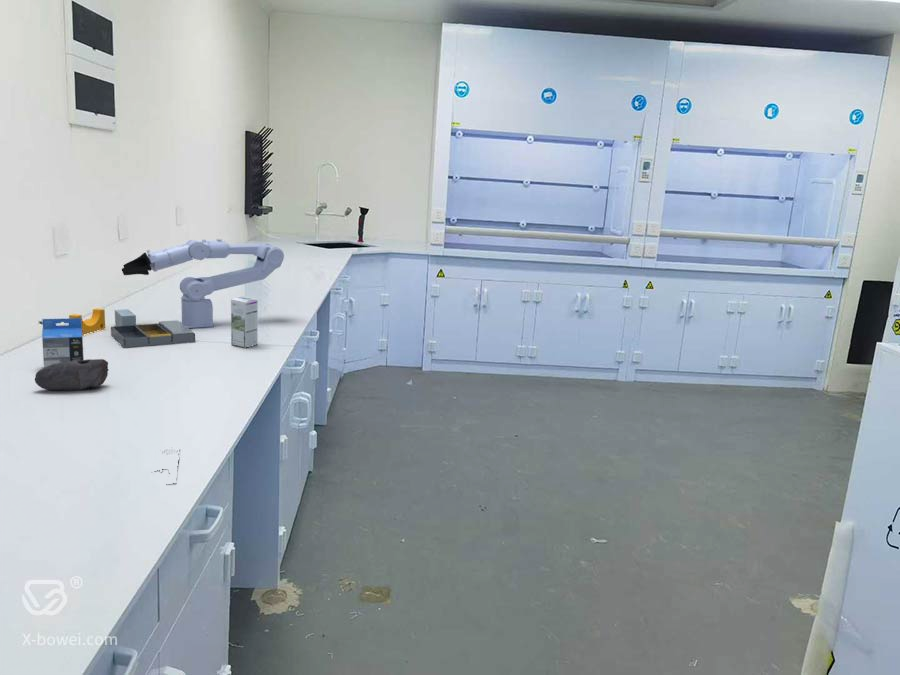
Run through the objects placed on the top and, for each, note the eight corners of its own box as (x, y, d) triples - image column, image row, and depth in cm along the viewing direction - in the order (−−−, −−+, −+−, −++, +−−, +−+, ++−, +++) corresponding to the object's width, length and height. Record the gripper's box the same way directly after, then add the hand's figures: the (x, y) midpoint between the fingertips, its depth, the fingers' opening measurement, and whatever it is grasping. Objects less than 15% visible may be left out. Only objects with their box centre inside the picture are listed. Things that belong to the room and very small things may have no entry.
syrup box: (258, 345, 207) (258, 298, 204) (245, 348, 202) (245, 301, 198) (243, 342, 209) (244, 296, 206) (230, 345, 204) (230, 298, 201)
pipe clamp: (93, 327, 213) (92, 307, 211) (105, 329, 212) (104, 309, 211) (65, 335, 201) (63, 314, 200) (77, 337, 201) (76, 316, 199)
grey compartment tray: (179, 330, 217) (178, 319, 217) (195, 342, 205) (195, 331, 204) (111, 334, 205) (110, 324, 205) (123, 348, 193) (123, 336, 192)
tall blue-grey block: (128, 324, 221) (128, 309, 220) (136, 330, 213) (135, 315, 212) (115, 325, 218) (114, 309, 217) (122, 331, 211) (121, 316, 210)
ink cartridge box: (43, 370, 168) (40, 322, 165) (44, 366, 172) (41, 318, 169) (84, 368, 172) (81, 321, 170) (84, 364, 176) (81, 317, 173)
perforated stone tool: (33, 394, 152) (31, 365, 150) (37, 387, 156) (35, 358, 155) (108, 391, 158) (107, 362, 156) (109, 384, 162) (108, 356, 161)
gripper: (160, 249, 221) (117, 261, 214) (166, 241, 208) (120, 254, 202) (168, 270, 222) (125, 282, 215) (174, 263, 209) (129, 276, 203)
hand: (123, 270), depth 209 cm, fingers open, 7 cm apart
